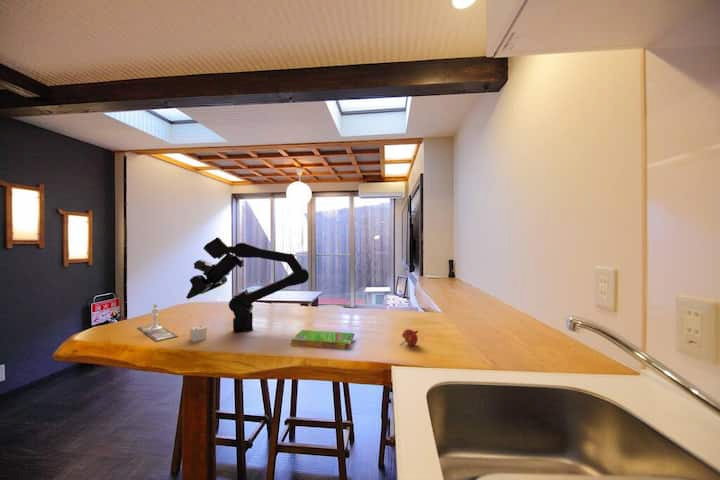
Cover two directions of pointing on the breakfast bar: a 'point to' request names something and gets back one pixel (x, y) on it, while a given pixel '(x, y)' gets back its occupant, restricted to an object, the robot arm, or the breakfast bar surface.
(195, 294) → the robot arm
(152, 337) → the track board
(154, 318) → the chess piece
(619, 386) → the breakfast bar surface
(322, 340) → the game box
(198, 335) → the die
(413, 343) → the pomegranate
